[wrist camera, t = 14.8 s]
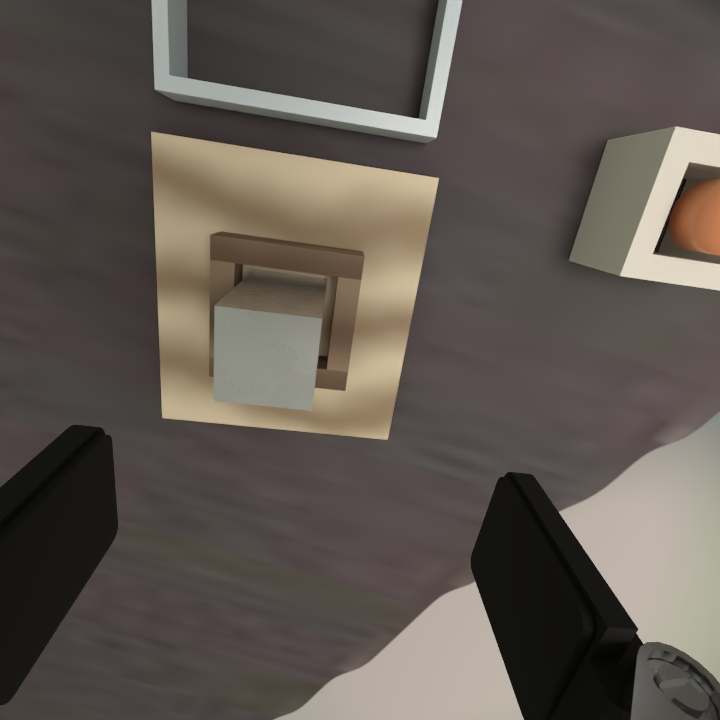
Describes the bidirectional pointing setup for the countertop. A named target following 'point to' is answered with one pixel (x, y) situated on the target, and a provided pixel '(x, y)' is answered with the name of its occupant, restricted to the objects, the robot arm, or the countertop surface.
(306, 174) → the plate
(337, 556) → the countertop surface
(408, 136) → the tote tray
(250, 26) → the countertop surface
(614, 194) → the button post
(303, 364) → the block
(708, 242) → the button
